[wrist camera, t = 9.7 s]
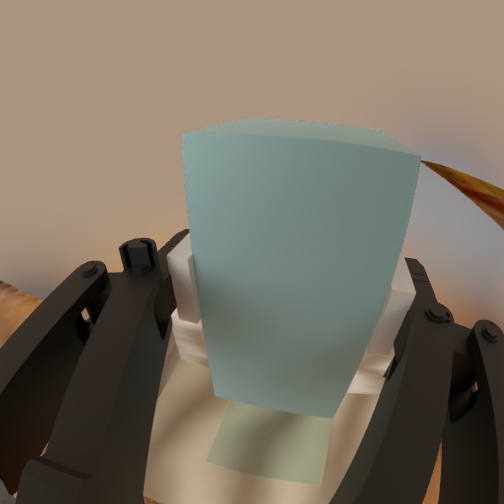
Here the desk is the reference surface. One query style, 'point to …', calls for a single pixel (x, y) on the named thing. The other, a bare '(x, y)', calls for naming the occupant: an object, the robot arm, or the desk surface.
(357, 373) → the arena
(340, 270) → the teal block
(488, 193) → the desk surface
